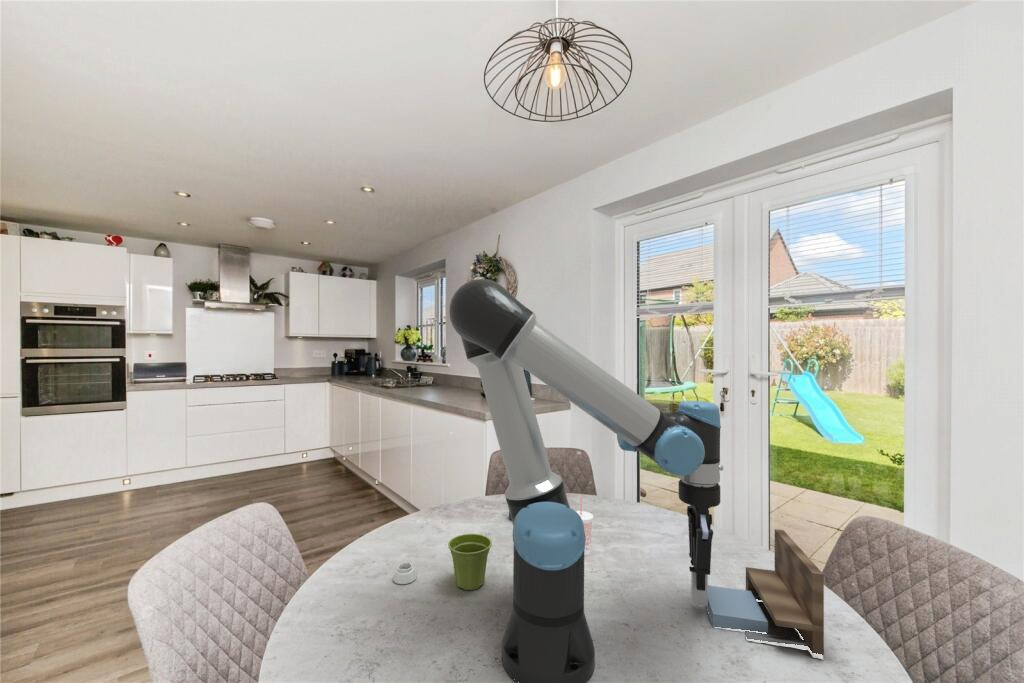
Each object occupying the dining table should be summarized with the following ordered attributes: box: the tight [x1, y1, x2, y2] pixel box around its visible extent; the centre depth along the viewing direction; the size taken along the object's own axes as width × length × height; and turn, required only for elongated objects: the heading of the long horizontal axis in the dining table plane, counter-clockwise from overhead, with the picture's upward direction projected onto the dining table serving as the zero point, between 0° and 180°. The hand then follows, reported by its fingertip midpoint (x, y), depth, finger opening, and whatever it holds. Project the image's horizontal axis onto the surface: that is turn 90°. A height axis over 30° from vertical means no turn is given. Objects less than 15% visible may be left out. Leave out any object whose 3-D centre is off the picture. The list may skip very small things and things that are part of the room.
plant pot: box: [447, 533, 493, 591], centre depth 93 cm, size 9×9×9 cm
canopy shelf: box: [744, 528, 825, 656], centre depth 81 cm, size 18×11×14 cm, turn 166°
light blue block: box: [705, 584, 769, 634], centre depth 83 cm, size 10×9×3 cm
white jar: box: [392, 562, 418, 585], centre depth 94 cm, size 5×3×5 cm
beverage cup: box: [575, 494, 594, 557], centre depth 108 cm, size 6×6×14 cm
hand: (699, 602), depth 84 cm, fingers closed
